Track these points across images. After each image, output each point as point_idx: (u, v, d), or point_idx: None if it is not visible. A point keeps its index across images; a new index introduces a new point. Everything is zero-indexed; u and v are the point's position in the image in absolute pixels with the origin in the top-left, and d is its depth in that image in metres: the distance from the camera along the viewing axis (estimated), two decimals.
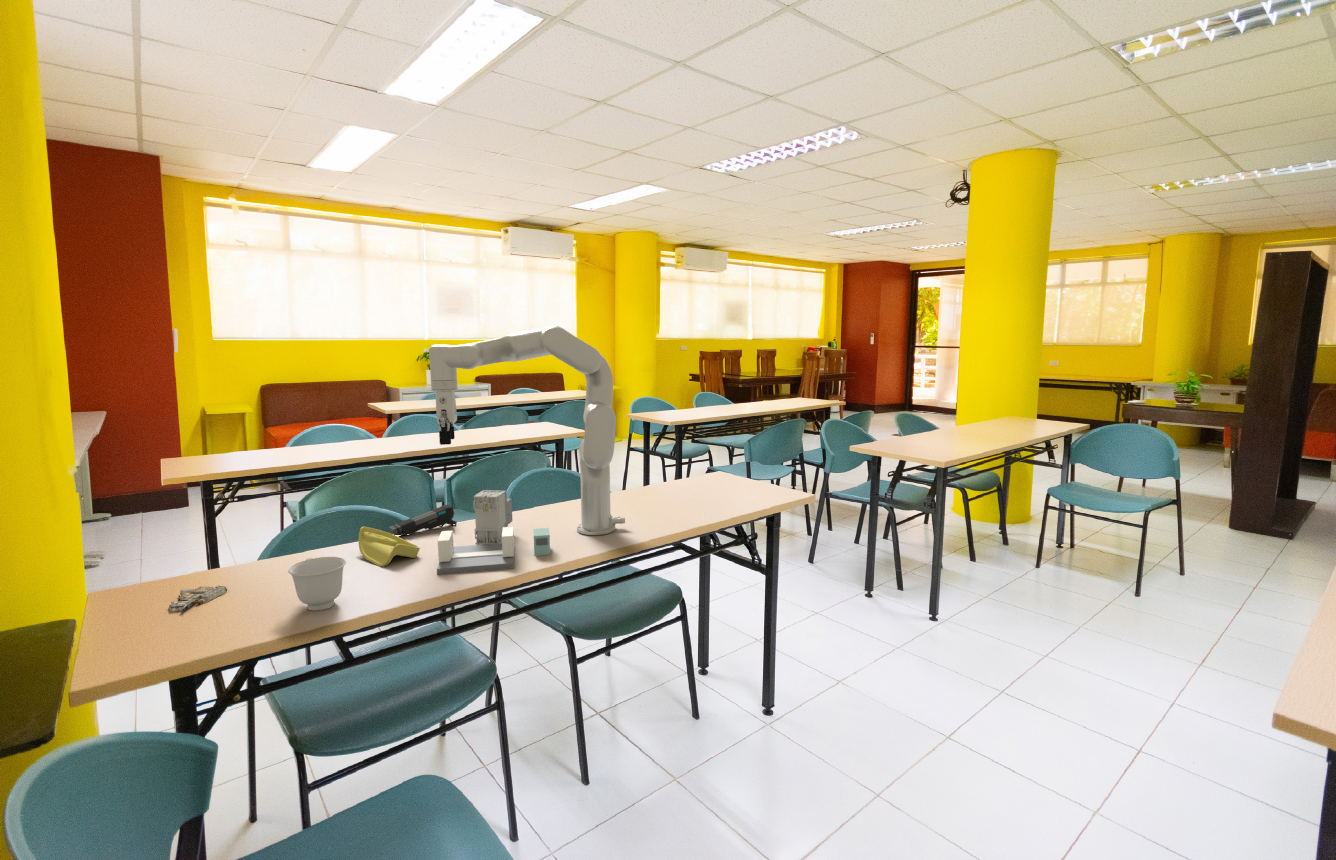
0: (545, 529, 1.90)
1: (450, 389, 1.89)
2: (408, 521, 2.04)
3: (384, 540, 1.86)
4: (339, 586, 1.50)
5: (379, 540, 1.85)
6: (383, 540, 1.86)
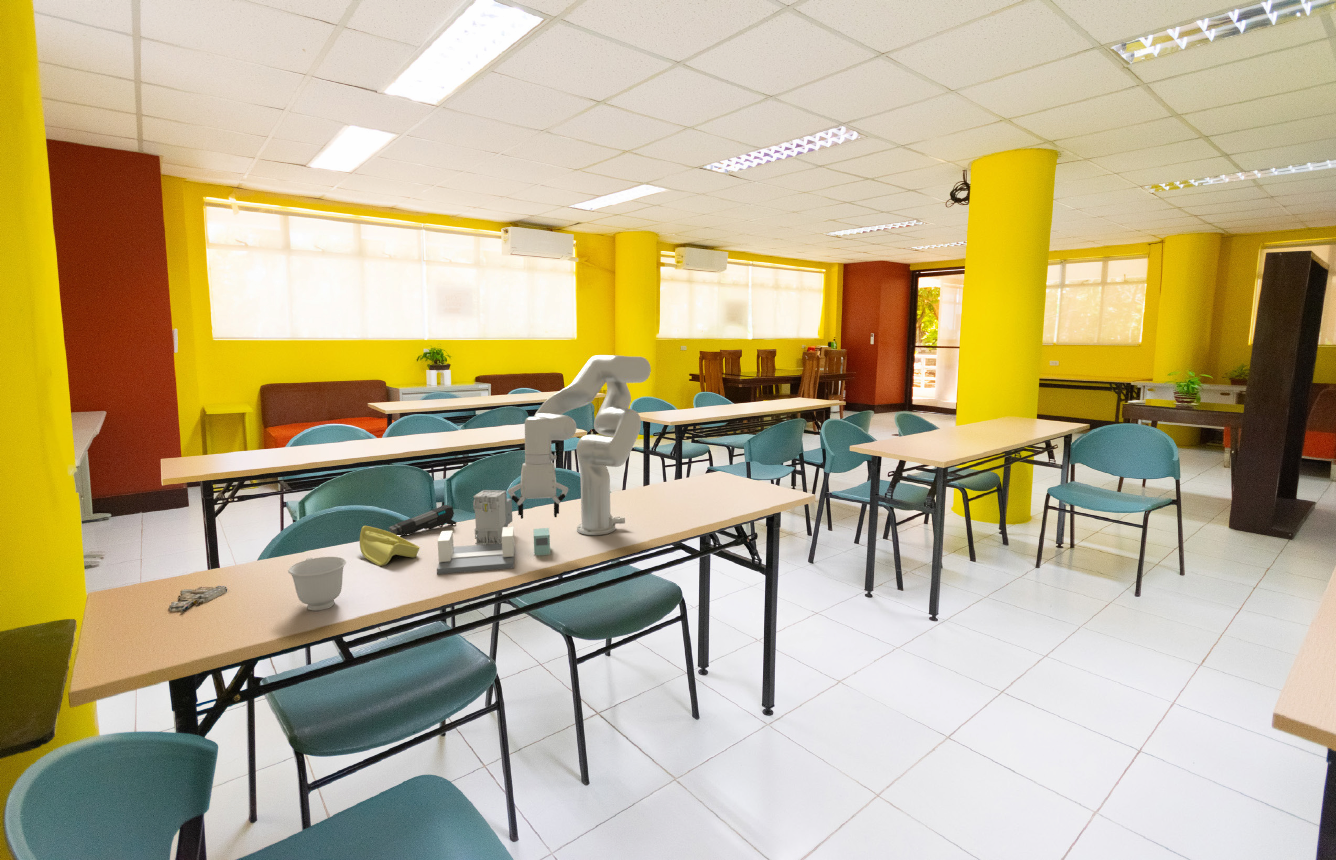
0: (545, 529, 1.90)
1: None
2: (408, 521, 2.04)
3: (385, 539, 1.87)
4: (339, 586, 1.50)
5: (380, 539, 1.86)
6: (384, 539, 1.87)
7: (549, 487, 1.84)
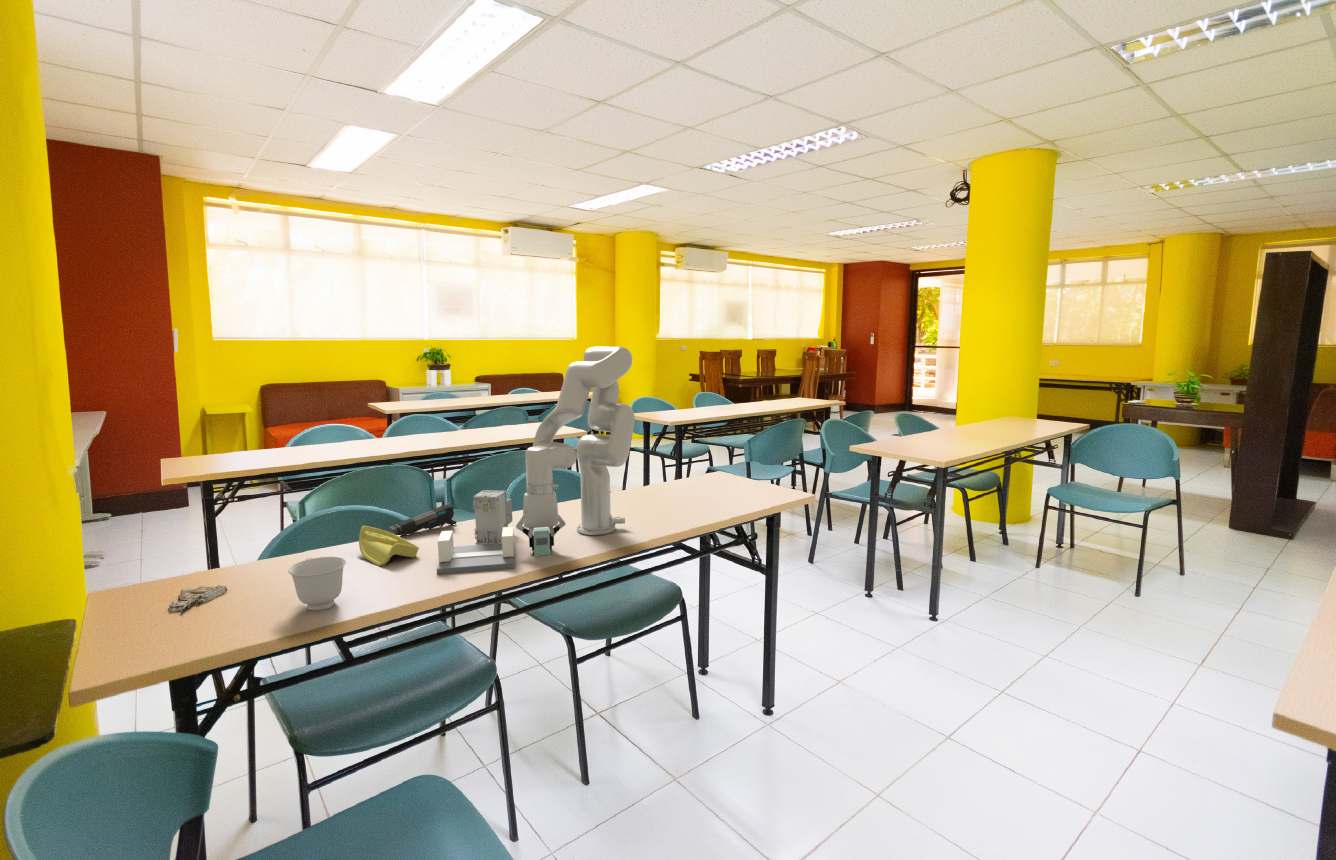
0: (545, 529, 1.90)
1: None
2: (408, 521, 2.04)
3: (384, 539, 1.87)
4: (339, 586, 1.50)
5: (379, 539, 1.86)
6: (383, 539, 1.87)
7: (551, 516, 1.85)
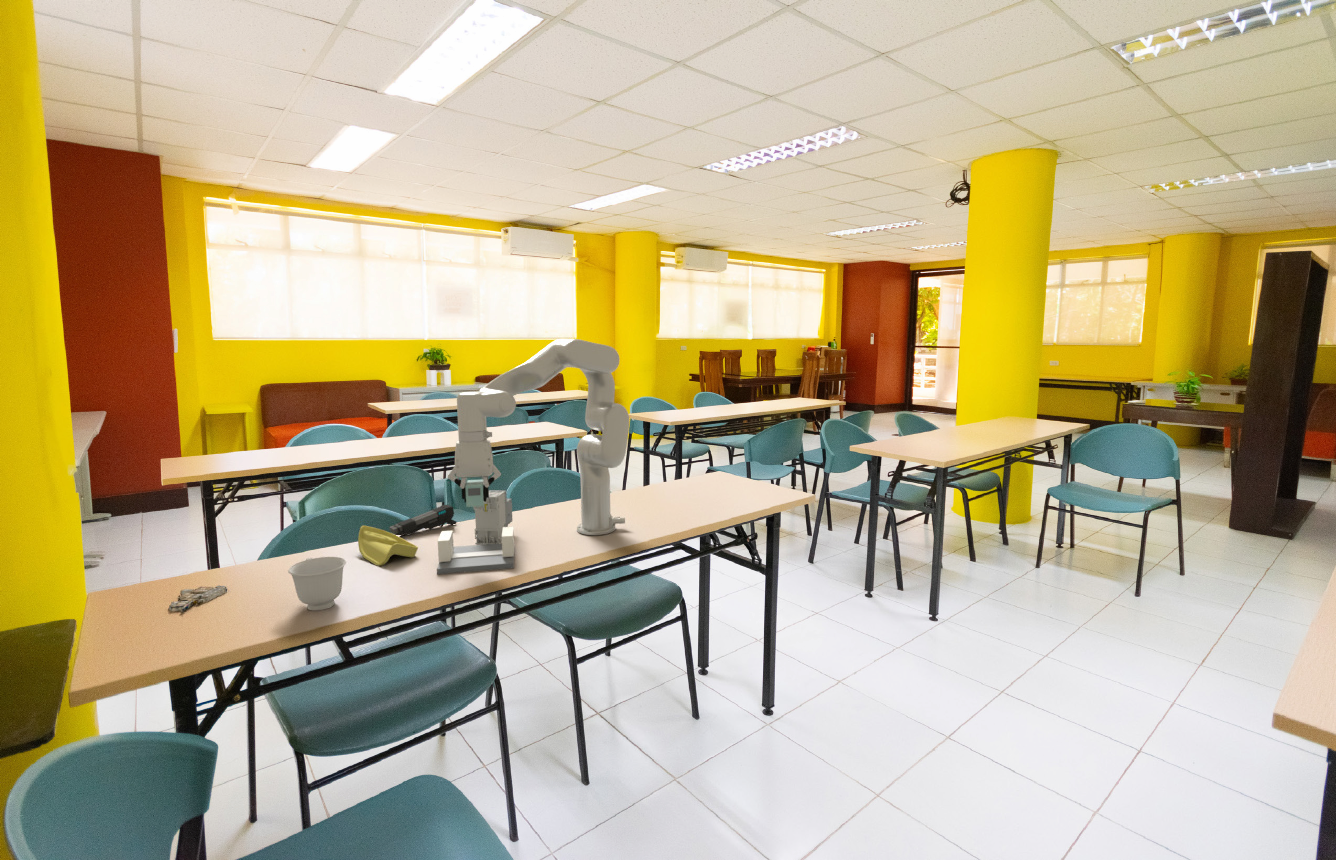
0: (480, 480, 1.80)
1: None
2: (408, 521, 2.04)
3: (383, 539, 1.87)
4: (339, 586, 1.50)
5: (378, 539, 1.86)
6: (382, 539, 1.87)
7: (485, 466, 1.76)
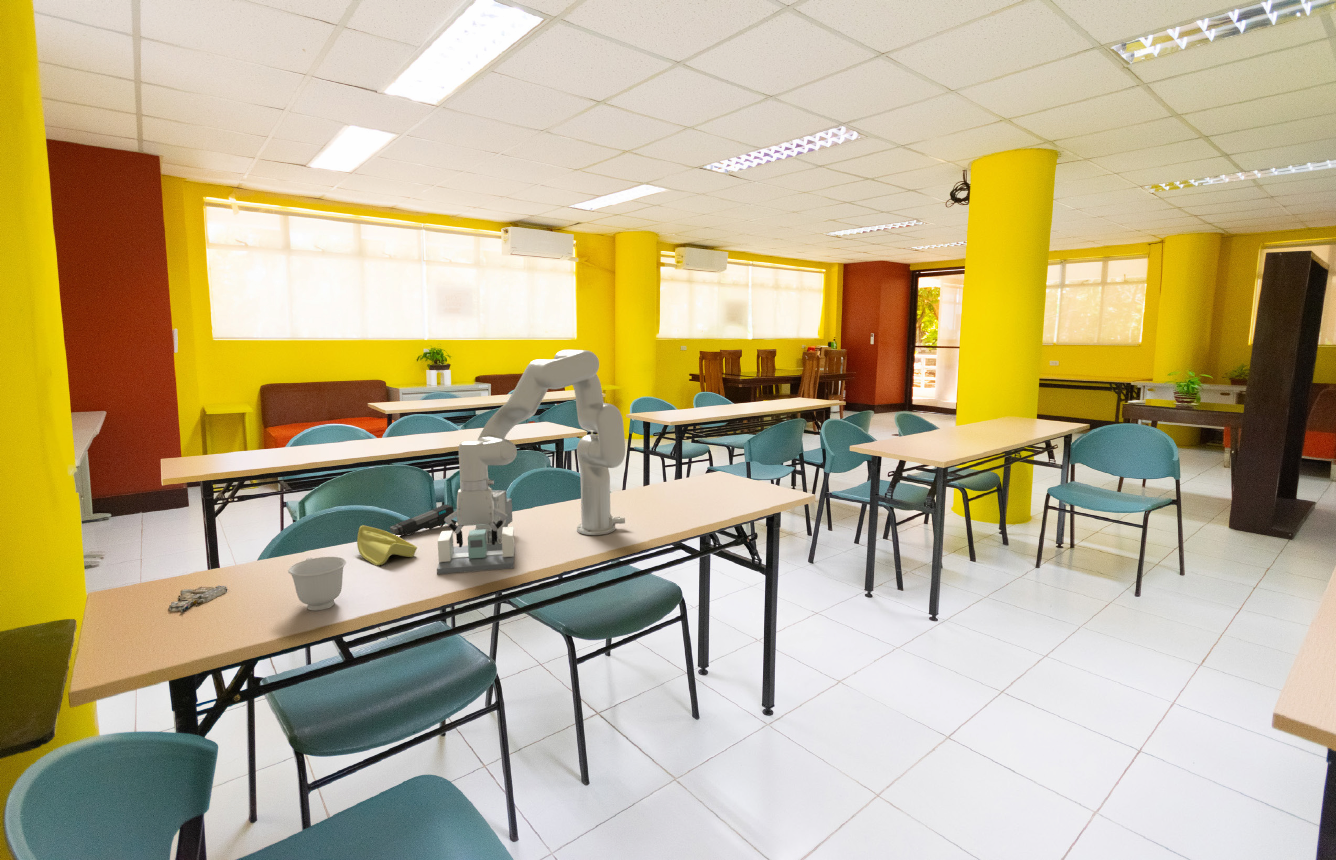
0: (482, 530, 1.82)
1: None
2: (409, 521, 2.04)
3: (382, 539, 1.87)
4: (339, 586, 1.50)
5: (377, 539, 1.86)
6: (381, 539, 1.87)
7: (486, 513, 1.78)
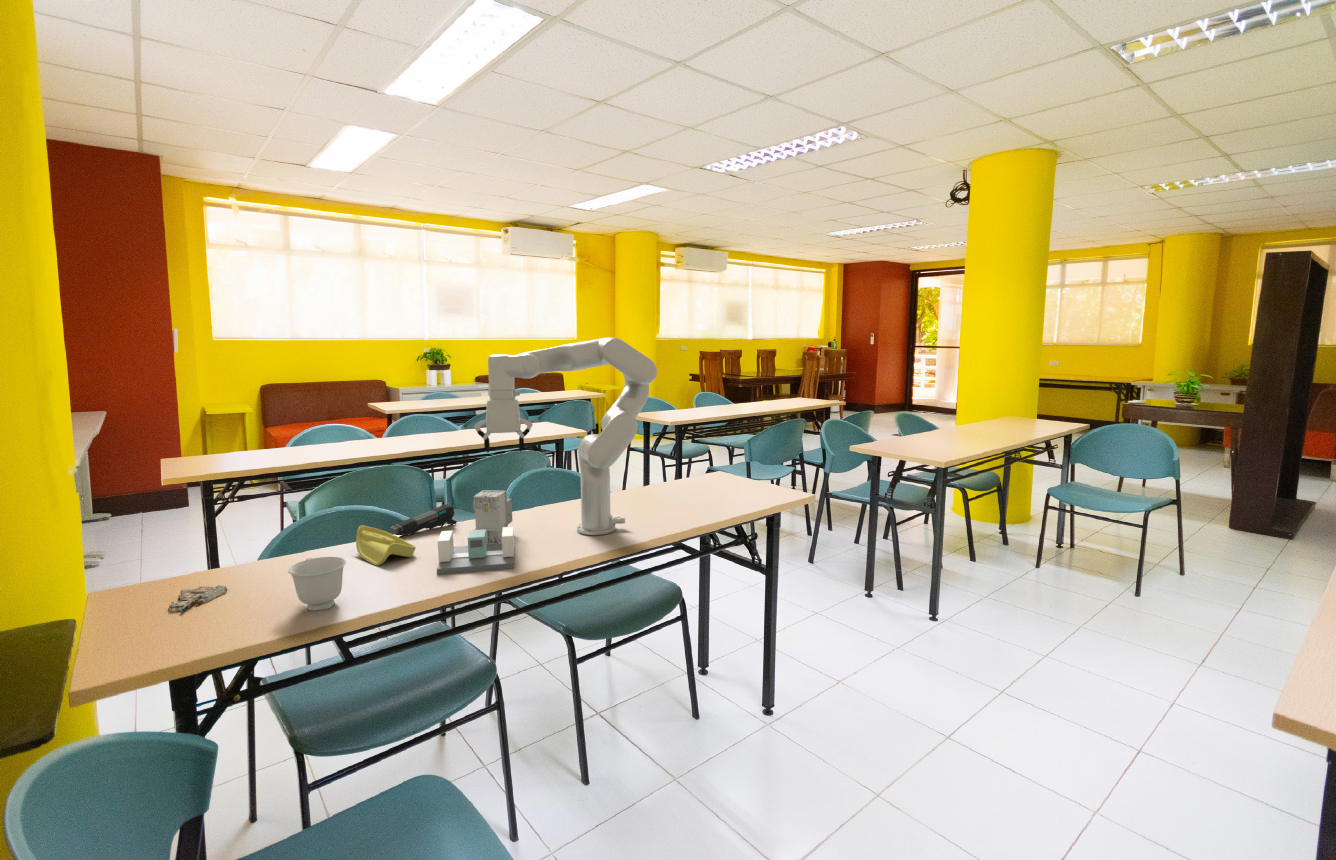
0: (482, 530, 1.82)
1: None
2: (409, 521, 2.04)
3: (381, 539, 1.87)
4: (339, 586, 1.50)
5: (376, 539, 1.86)
6: (380, 539, 1.87)
7: (513, 422, 1.92)
